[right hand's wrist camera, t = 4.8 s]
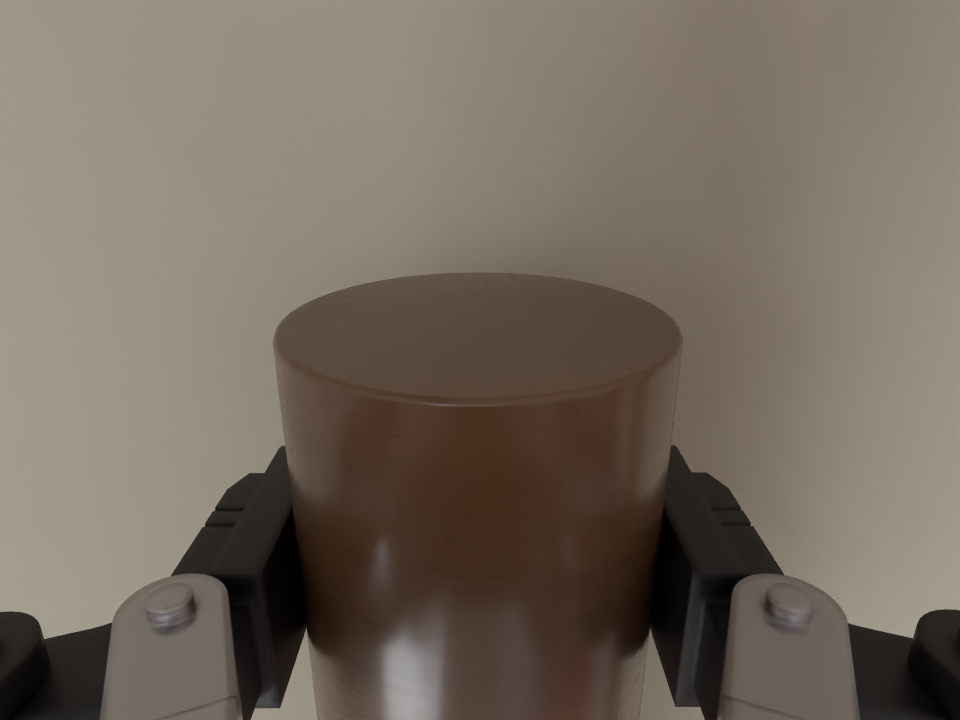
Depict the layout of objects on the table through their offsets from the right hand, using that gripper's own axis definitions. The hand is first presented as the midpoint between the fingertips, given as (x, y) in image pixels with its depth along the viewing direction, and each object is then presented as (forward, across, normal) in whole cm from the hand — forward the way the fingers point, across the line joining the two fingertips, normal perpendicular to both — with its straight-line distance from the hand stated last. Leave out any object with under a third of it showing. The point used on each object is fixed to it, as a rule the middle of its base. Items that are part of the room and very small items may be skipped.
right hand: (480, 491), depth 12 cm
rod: (+1, 0, -10) cm, 10 cm away
